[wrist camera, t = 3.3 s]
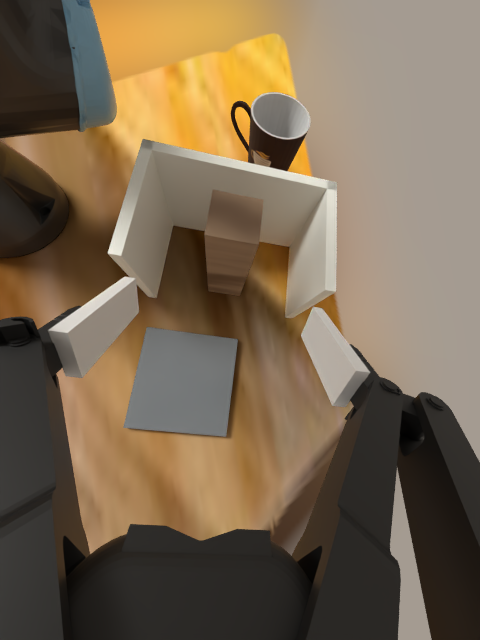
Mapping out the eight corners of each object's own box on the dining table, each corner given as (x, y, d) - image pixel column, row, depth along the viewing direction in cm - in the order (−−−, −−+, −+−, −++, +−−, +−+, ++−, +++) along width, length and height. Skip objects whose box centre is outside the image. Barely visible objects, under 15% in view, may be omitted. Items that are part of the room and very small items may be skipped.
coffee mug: (294, 189, 38) (322, 129, 28) (257, 205, 36) (273, 146, 27) (262, 144, 40) (277, 72, 30) (224, 157, 38) (228, 85, 28)
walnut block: (239, 296, 32) (258, 244, 18) (208, 291, 31) (204, 234, 18) (243, 267, 33) (263, 199, 20) (212, 262, 33) (212, 189, 19)
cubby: (291, 318, 32) (336, 291, 21) (148, 296, 30) (107, 253, 18) (296, 242, 36) (336, 182, 24) (167, 218, 33) (142, 138, 22)
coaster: (126, 425, 26) (123, 427, 25) (148, 328, 29) (146, 326, 28) (225, 434, 27) (226, 436, 26) (237, 339, 30) (237, 339, 30)
